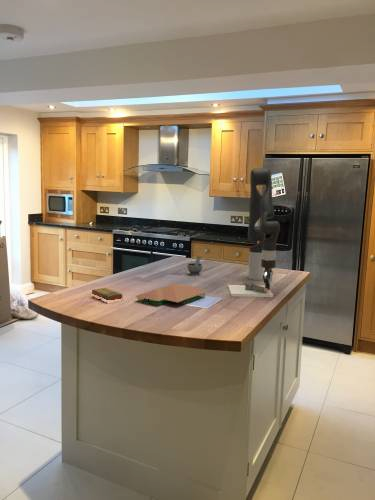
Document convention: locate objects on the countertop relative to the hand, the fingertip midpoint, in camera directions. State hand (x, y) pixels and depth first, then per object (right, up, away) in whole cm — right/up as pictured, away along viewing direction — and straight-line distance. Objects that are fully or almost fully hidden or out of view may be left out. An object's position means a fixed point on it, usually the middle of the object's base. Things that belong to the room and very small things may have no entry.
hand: (267, 290), depth 230 cm
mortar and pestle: (-38, +5, +48) cm, 61 cm away
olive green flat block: (-84, -4, -15) cm, 85 cm away
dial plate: (-9, -2, +5) cm, 10 cm away
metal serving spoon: (-6, 0, +2) cm, 6 cm away
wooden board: (-50, -4, -12) cm, 52 cm away
